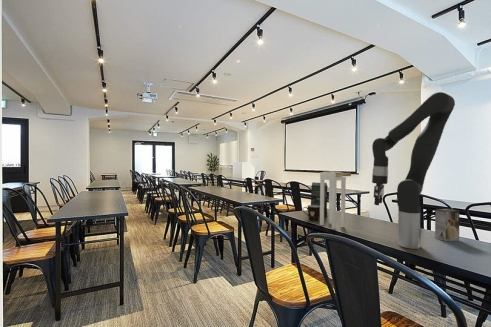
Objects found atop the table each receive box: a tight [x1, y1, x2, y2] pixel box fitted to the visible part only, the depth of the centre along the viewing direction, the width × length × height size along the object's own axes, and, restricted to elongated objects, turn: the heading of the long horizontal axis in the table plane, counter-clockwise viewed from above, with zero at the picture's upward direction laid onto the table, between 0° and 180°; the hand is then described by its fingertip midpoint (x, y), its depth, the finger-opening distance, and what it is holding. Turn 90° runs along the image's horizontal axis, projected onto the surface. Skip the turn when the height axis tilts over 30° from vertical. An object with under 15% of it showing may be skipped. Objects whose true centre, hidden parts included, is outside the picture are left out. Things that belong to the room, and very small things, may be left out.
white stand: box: [319, 171, 347, 230], centre depth 163 cm, size 12×10×34 cm
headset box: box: [310, 181, 329, 218], centre depth 199 cm, size 22×12×26 cm, turn 164°
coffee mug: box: [302, 204, 320, 222], centre depth 180 cm, size 12×9×10 cm
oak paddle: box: [323, 170, 352, 177], centre depth 166 cm, size 9×19×3 cm, turn 118°
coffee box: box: [434, 208, 460, 242], centre depth 138 cm, size 9×6×16 cm
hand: (378, 204), depth 140 cm, fingers open, 8 cm apart
